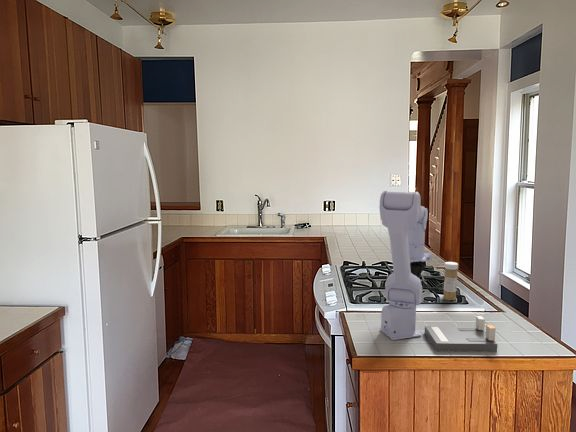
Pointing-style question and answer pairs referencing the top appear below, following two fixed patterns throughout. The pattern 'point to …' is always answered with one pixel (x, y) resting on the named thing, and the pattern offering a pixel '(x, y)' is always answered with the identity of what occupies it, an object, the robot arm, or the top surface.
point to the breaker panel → (459, 339)
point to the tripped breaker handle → (490, 332)
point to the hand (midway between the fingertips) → (413, 284)
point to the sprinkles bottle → (450, 280)
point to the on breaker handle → (480, 322)
